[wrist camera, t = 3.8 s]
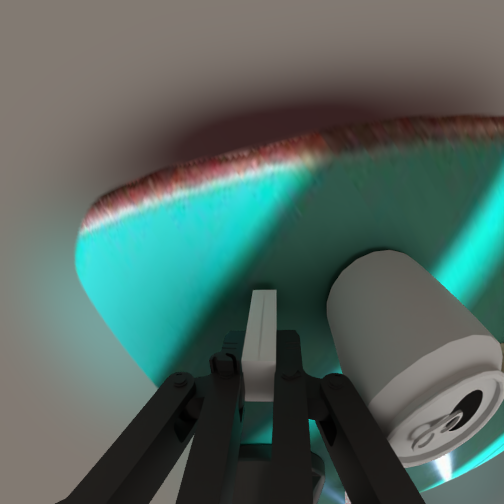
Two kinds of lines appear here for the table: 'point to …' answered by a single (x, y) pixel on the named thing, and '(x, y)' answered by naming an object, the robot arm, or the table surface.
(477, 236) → the table surface
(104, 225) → the table surface
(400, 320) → the can
